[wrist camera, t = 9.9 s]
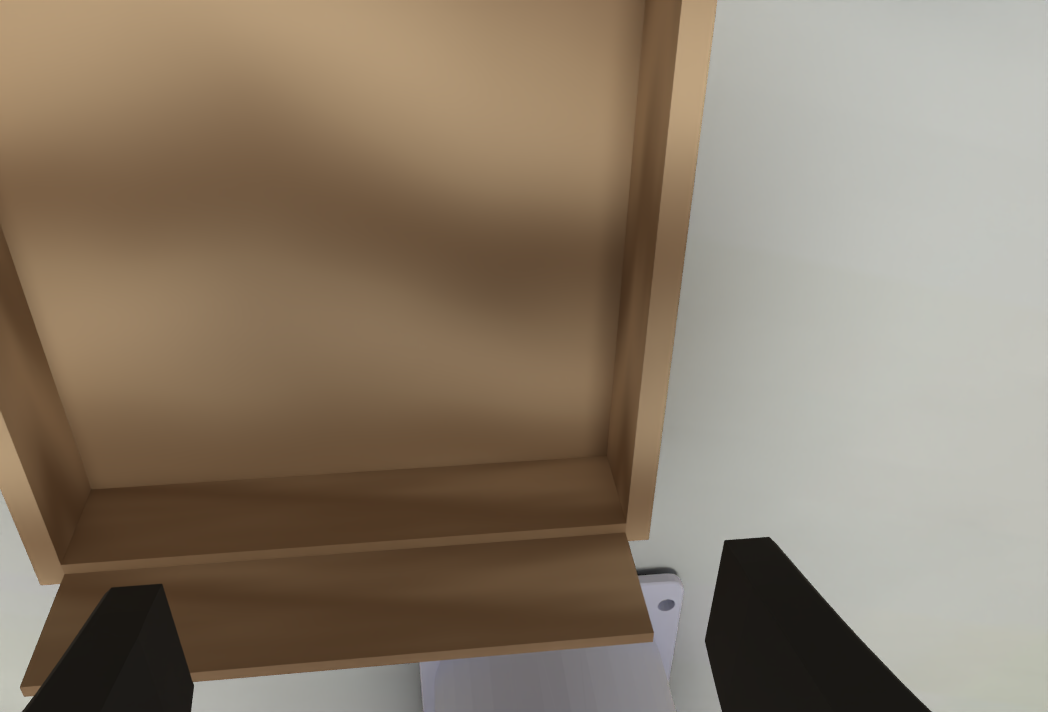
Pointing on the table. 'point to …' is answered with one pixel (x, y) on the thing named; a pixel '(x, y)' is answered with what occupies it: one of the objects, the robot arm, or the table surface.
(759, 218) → the table surface
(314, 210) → the brown wooden open box
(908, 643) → the table surface
